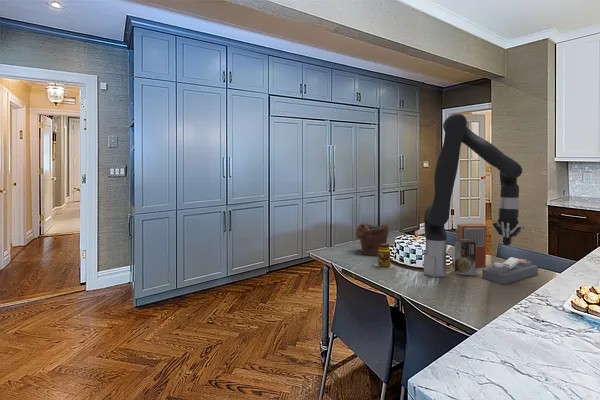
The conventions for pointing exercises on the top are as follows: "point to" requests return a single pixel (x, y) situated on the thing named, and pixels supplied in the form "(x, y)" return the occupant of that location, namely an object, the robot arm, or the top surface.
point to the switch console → (510, 273)
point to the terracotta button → (523, 260)
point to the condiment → (383, 256)
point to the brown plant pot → (372, 237)
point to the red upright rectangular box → (477, 234)
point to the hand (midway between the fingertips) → (506, 245)
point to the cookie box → (465, 256)
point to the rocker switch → (511, 262)
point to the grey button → (498, 265)
